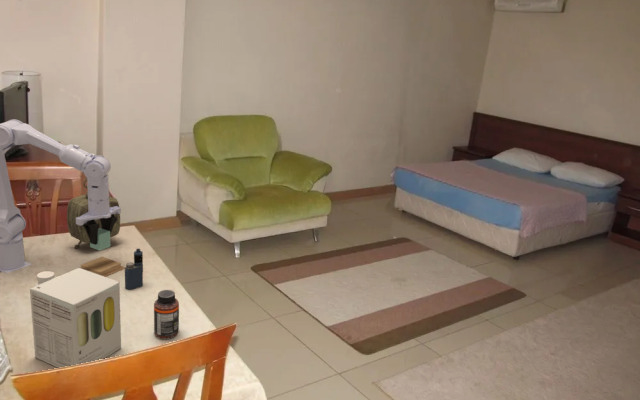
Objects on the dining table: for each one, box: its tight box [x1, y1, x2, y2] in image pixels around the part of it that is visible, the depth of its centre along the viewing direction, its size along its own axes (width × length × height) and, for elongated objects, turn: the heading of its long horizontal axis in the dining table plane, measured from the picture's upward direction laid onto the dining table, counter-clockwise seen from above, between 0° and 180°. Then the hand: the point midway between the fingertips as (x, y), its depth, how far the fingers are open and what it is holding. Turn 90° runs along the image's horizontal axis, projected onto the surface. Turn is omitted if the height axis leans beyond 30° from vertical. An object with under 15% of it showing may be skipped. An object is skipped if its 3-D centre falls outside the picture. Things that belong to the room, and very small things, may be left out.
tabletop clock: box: [66, 177, 121, 250], centre depth 173 cm, size 14×9×25 cm, turn 144°
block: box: [89, 228, 111, 251], centre depth 158 cm, size 4×4×5 cm
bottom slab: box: [103, 265, 126, 278], centre depth 161 cm, size 10×10×2 cm
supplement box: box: [29, 267, 122, 368], centre depth 119 cm, size 13×13×18 cm
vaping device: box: [124, 248, 144, 291], centre depth 151 cm, size 3×5×12 cm, turn 137°
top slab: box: [80, 256, 122, 276], centre depth 161 cm, size 8×8×2 cm
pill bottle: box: [34, 270, 55, 287], centre depth 137 cm, size 5×5×10 cm
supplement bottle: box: [153, 289, 180, 340], centre depth 130 cm, size 6×6×11 cm
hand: (100, 241), depth 158 cm, fingers closed on block, 4 cm apart
